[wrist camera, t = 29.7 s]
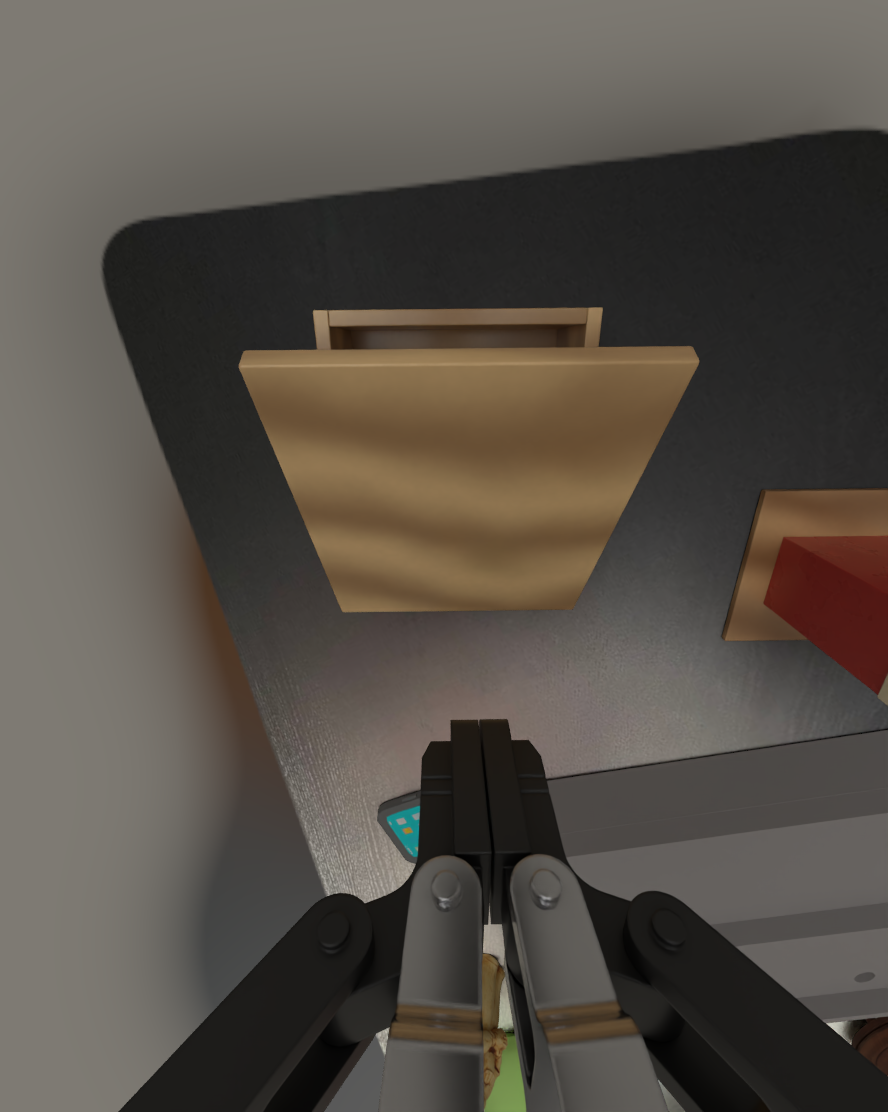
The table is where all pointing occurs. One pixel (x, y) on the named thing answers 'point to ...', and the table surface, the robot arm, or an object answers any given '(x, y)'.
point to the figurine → (491, 1022)
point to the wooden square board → (794, 518)
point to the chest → (457, 328)
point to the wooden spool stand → (874, 1042)
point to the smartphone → (402, 823)
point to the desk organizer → (756, 857)
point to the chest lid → (464, 464)
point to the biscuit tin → (837, 600)
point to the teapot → (508, 1083)
